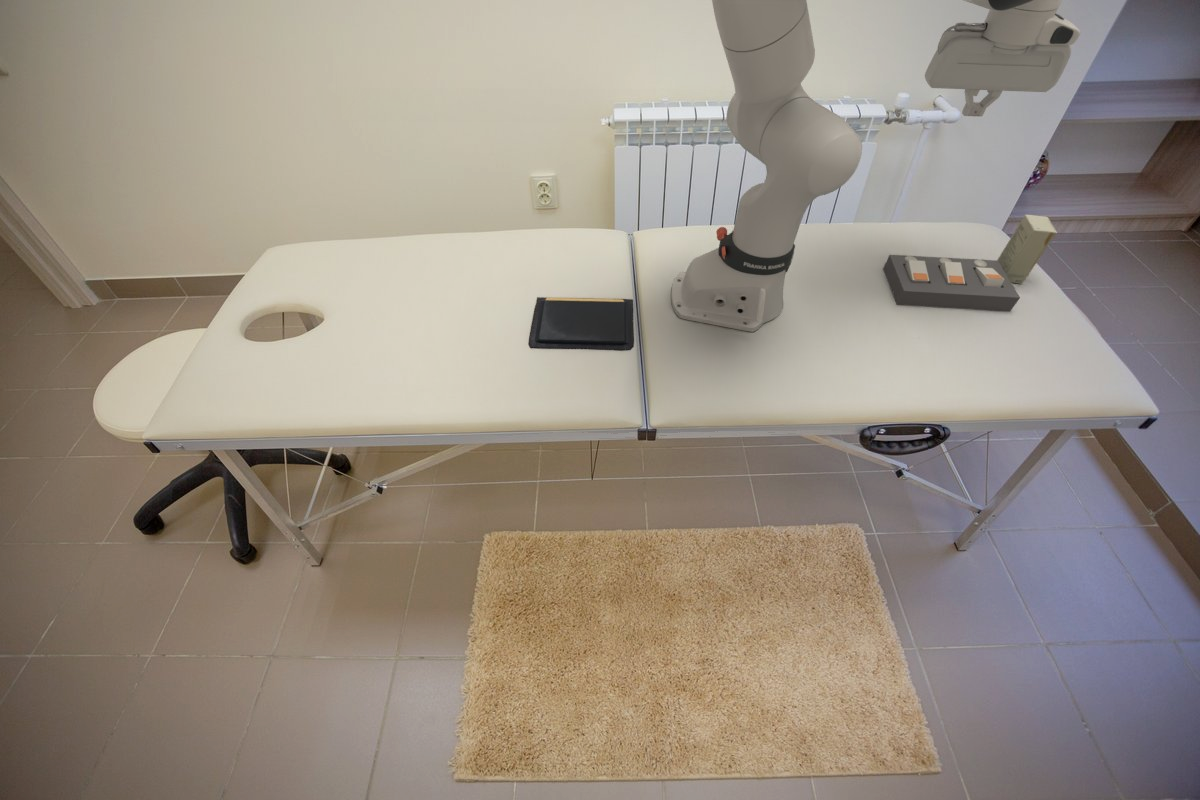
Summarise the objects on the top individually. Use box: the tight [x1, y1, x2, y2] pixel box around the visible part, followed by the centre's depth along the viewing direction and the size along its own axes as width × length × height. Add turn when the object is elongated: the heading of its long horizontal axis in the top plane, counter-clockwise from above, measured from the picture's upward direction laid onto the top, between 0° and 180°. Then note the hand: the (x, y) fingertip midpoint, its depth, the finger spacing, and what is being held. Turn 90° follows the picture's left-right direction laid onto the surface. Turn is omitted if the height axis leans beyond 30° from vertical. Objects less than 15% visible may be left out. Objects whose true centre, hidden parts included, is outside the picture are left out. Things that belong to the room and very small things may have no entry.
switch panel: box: [882, 254, 1021, 312], centre depth 116 cm, size 22×12×4 cm, turn 85°
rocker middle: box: [940, 262, 965, 285], centre depth 115 cm, size 3×5×2 cm, turn 175°
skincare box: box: [997, 214, 1058, 284], centre depth 116 cm, size 6×4×12 cm
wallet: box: [528, 296, 635, 352], centre depth 110 cm, size 20×2×15 cm
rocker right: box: [975, 267, 1004, 287], centre depth 114 cm, size 3×5×2 cm, turn 175°
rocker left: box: [905, 260, 929, 283], centre depth 115 cm, size 3×5×2 cm, turn 175°
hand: (971, 115), depth 100 cm, fingers closed
